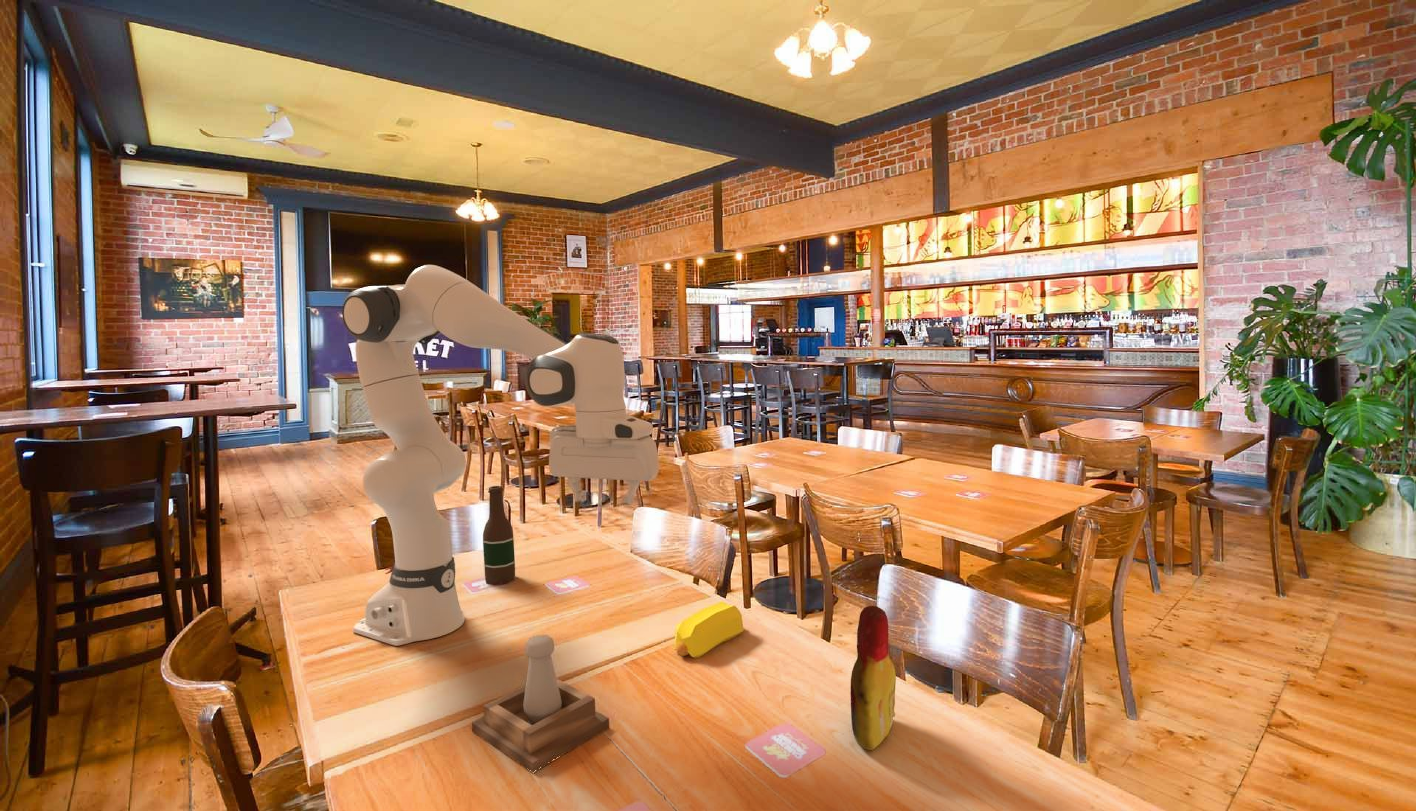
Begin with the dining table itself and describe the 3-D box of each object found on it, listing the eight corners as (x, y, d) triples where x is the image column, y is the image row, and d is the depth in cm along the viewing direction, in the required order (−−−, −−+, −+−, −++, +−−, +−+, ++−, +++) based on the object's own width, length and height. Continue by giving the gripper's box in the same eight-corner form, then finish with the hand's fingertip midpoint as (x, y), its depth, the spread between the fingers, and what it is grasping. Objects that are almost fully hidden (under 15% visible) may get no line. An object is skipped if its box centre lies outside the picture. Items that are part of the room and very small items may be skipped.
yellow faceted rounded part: (664, 654, 128) (694, 666, 123) (663, 620, 127) (693, 631, 122) (723, 622, 141) (752, 632, 136) (723, 592, 140) (752, 601, 135)
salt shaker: (554, 730, 100) (550, 648, 99) (518, 728, 101) (513, 646, 100) (567, 709, 106) (563, 630, 105) (532, 707, 107) (528, 629, 106)
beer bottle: (493, 573, 173) (488, 483, 171) (521, 574, 172) (516, 483, 170) (478, 584, 166) (473, 490, 163) (508, 585, 165) (503, 490, 162)
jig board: (472, 731, 103) (470, 703, 103) (547, 693, 114) (545, 668, 114) (533, 772, 93) (531, 742, 93) (609, 727, 104) (608, 699, 103)
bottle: (883, 763, 94) (884, 626, 92) (839, 750, 96) (839, 618, 94) (901, 719, 104) (902, 595, 102) (860, 709, 107) (860, 589, 105)
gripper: (540, 426, 118) (543, 503, 119) (646, 429, 111) (649, 510, 112) (558, 422, 123) (562, 495, 125) (661, 424, 117) (663, 501, 118)
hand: (604, 502), depth 119 cm, fingers open, 8 cm apart
